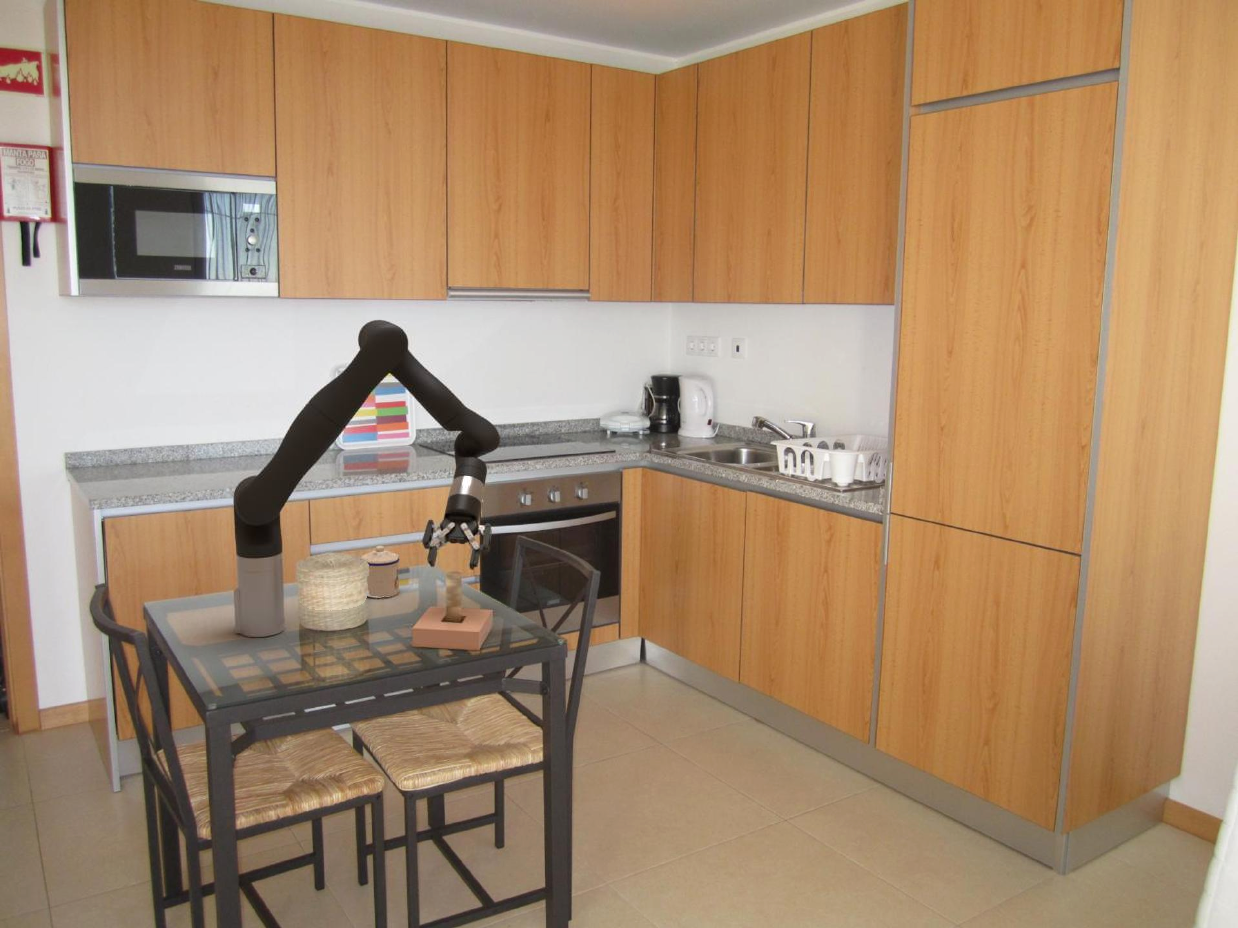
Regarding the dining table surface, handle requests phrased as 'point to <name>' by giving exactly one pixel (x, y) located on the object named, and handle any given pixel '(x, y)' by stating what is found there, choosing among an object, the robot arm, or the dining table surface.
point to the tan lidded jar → (382, 572)
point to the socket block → (452, 629)
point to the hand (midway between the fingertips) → (451, 566)
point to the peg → (453, 597)
